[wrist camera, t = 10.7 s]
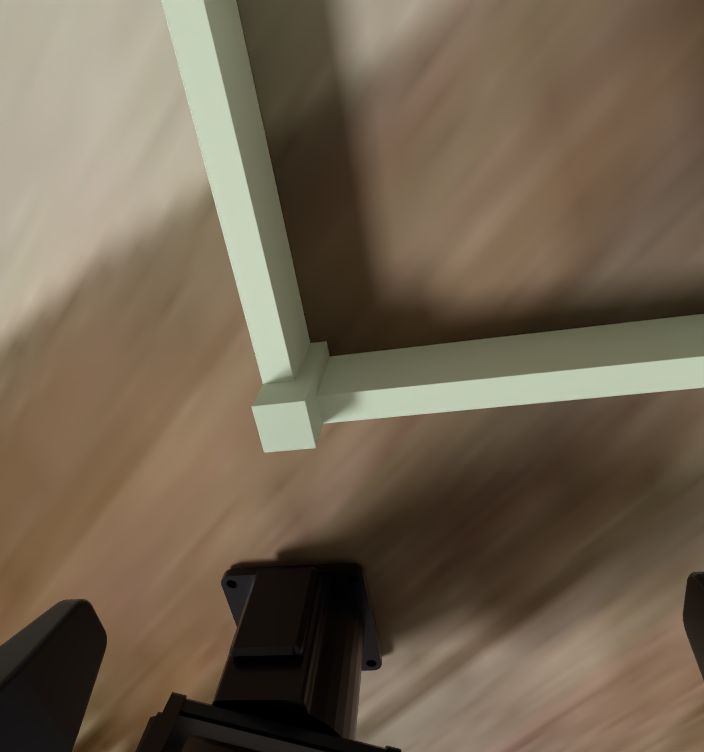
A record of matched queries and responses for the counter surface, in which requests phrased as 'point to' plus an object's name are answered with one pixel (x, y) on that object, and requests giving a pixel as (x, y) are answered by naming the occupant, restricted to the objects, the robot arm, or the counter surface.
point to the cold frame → (387, 367)
